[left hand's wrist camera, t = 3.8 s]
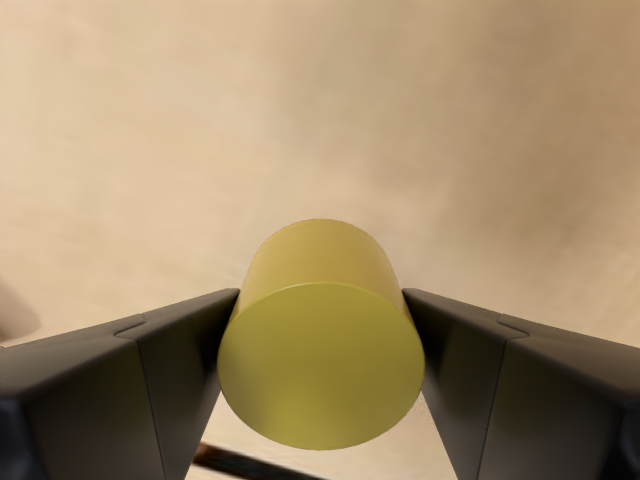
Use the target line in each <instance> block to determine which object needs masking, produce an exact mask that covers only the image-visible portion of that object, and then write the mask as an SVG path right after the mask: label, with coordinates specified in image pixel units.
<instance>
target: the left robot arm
mask: <svg viewBox="0 0 640 480" xmlns="http://www.w3.org/2000/svg"><path fill="white" fill-rule="evenodd" d="M401 291H402V294H403V296H404V299H405V301H406V304H407V306H408V309H409V311H410V314H411V316H412V319H413V321H414V324H415V326H416V329H417V331H418V334H419V337H420V339H421V342H422V345H423V349H424V353H425V376H424V380H423V384H422V388H421V391H422V393H423V396H424V398H425V401H426V403H427V406H428V408H429V410H430V413H431V415H432V418H433V420H434V422H435V425H436V427H437V430H438V432H439V435H440V437H441V439H442V442H443V444H444V447H445V449H446V451H447V454H448V456H449V459H450V461H451V464H452V466H453V468H454V471H455V473H456V476H457V478H458V480H640V348H636V347H632V346H628V345H624V344H620V343H616V342H612V341H608V340H604V339H600V338H596V337H592V336H588V335H583V334H579V333H575V332H571V331H567V330H563V329H559V328H555V327H551V326H547V325H543V324H539V323H536V322H532V321H528V320H524V319H521V318H517V317H514V316H510V315H507V314H501V313H498V312H494V311H491V310H487V309H484V308H481V307H477V306H474V305H470V304H467V303H463V302H460V301H456V300H453V299H449V298H446V297H443V296H439V295H436V294H432V293H429V292H425V291H422V290H418V289H408V288H404V289H402V290H401ZM239 293H240V289H238V288H234V289H223V290H220V291H217V292H213V293H210V294H206V295H203V296H199V297H196V298H193V299H189V300H186V301H182V302H179V303H176V304H172V305H169V306H165V307H162V308H158V309H155V310H152V311H148V312H145V313H142V314H136V315H133V316H129V317H126V318H122V319H118V320H115V321H111V322H107V323H103V324H100V325H96V326H92V327H88V328H84V329H80V330H76V331H72V332H68V333H64V334H60V335H56V336H52V337H48V338H44V339H40V340H35V341H31V342H27V343H23V344H19V345H15V346H11V347H7V348H3V349H0V480H184V479H185V477H186V474H187V472H188V470H189V467H190V465H191V462H192V460H193V457H194V455H195V452H196V450H197V448H198V445H199V443H200V440H201V438H202V435H203V433H204V430H205V428H206V426H207V423H208V421H209V418H210V416H211V413H212V411H213V408H214V406H215V403H216V401H217V399H218V396H219V394H220V391H221V387H220V384H219V380H218V374H217V356H218V349H219V346H220V343H221V340H222V337H223V334H224V332H225V329H226V327H227V324H228V321H229V319H230V316H231V314H232V311H233V309H234V306H235V303H236V301H237V298H238V296H239Z"/></svg>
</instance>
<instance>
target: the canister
mask: <svg viewBox="0 0 640 480" xmlns="http://www.w3.org/2000/svg"><path fill="white" fill-rule="evenodd" d="M217 374H218V380H219V384H220V387H221V390H222V393H223V395H224V397H225V399H226V401H227V403H228V405H229V406H230V407H231V409H232V410H233V412H234V413H235V414H236V415H237V416H238V417H239V418H240V419H241V420H242V421H243V422H244V423H245V424H246V425H247V426H249V427H250V428H251V429H253V430H254V431H256V432H257V433H259V434H260V435H262V436H264V437H266V438H268V439H270V440H272V441H275V442H278V443H280V444H283V445H287V446H290V447H294V448H300V449H306V450H335V449H343V448H347V447H352V446H356V445H359V444H362V443H365V442H367V441H370V440H372V439H374V438H376V437H378V436H380V435H381V434H383V433H385V432H387V431H388V430H389V429H391V428H392V427H393V426H395V425H396V424H397V423H398V422H399V421H400V420H401V419H402V418H403V417H404V416H405V415H406V414H407V413H408V411H409V410H410V409H411V408H412V406H413V404H414V403H415V401H416V399H417V398H418V395H419V393H420V390H421V388H422V384H423V380H424V376H425V353H424V349H423V345H422V342H421V339H420V337H419V334H418V331H417V329H416V326H415V324H414V321H413V319H412V316H411V314H410V311H409V309H408V306H407V304H406V301H405V299H404V296H403V294H402V291H401V289H400V286H399V284H398V281H397V279H396V276H395V274H394V271H393V269H392V266H391V264H390V261H389V259H388V257H387V255H386V253H385V252H384V250H383V249H382V247H381V246H380V245H379V244H378V243H377V242H376V241H375V240H374V239H373V238H372V237H371V236H370V235H368V234H367V233H366V232H364V231H363V230H361V229H359V228H357V227H355V226H353V225H350V224H348V223H345V222H341V221H337V220H330V219H311V220H305V221H300V222H297V223H294V224H291V225H289V226H287V227H284V228H282V229H281V230H279V231H277V232H276V233H274V234H273V235H272V236H271V237H269V238H268V239H267V240H266V241H265V242H264V243H263V244H262V245H261V247H260V248H259V250H258V251H257V252H256V254H255V256H254V258H253V260H252V262H251V265H250V267H249V270H248V272H247V275H246V278H245V280H244V283H243V285H242V288H241V290H240V293H239V296H238V298H237V301H236V303H235V306H234V309H233V311H232V314H231V316H230V319H229V321H228V324H227V327H226V329H225V332H224V334H223V337H222V340H221V343H220V346H219V349H218V356H217Z"/></svg>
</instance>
